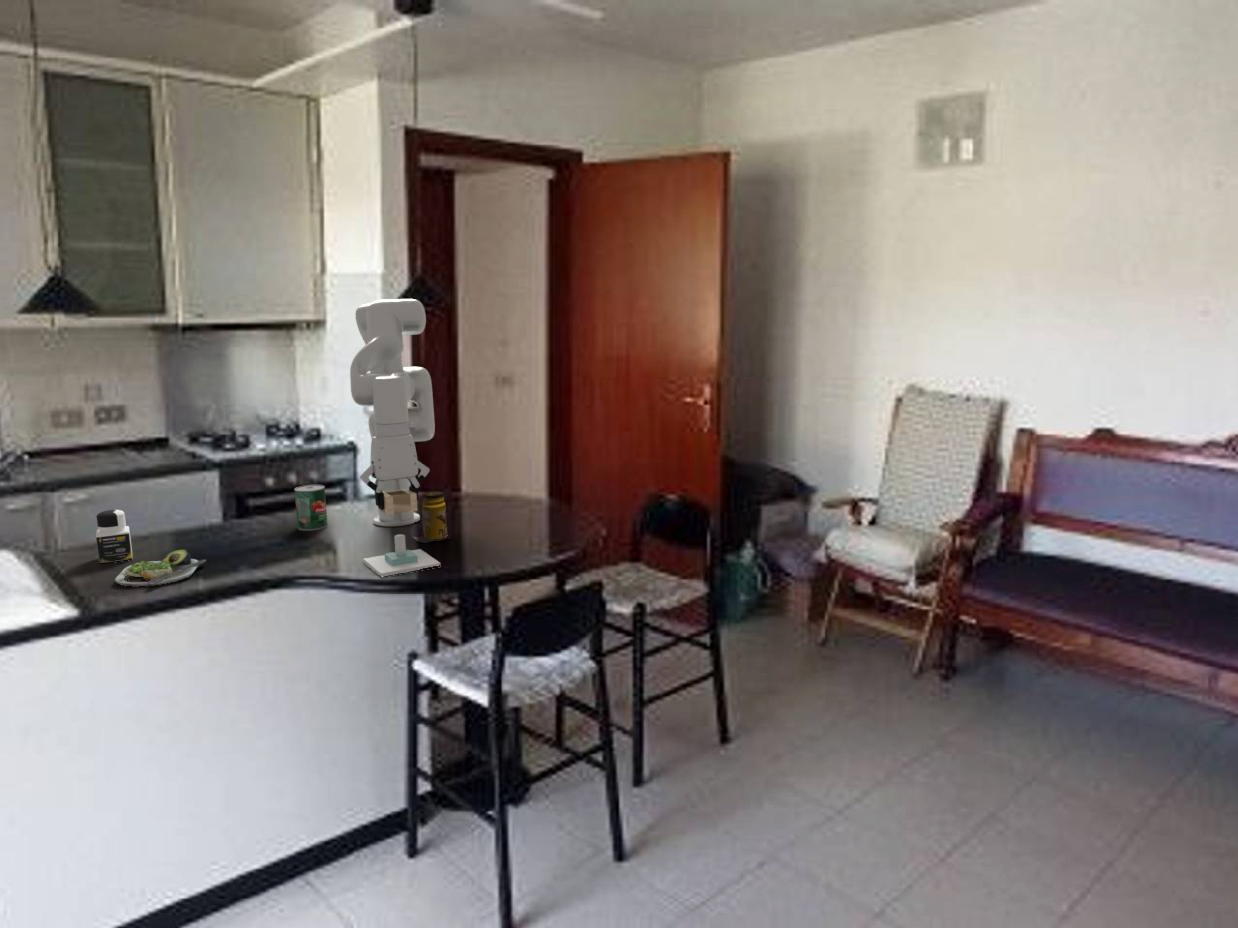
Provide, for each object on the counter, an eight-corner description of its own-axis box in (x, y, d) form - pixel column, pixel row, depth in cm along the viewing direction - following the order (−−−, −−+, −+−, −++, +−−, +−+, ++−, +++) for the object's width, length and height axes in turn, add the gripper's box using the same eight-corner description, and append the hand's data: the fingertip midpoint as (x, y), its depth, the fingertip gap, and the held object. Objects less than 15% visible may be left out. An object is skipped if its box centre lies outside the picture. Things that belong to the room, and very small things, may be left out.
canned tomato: (327, 529, 254) (323, 489, 252) (296, 531, 252) (292, 491, 250) (328, 522, 262) (325, 483, 260) (299, 524, 260) (295, 485, 258)
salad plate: (190, 588, 207) (188, 568, 207) (103, 595, 204) (100, 574, 203) (210, 563, 226) (208, 545, 225) (130, 569, 223) (128, 550, 222)
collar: (378, 509, 218) (377, 492, 218) (407, 505, 222) (406, 488, 221) (387, 514, 213) (386, 497, 212) (417, 510, 216) (416, 493, 215)
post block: (363, 562, 223) (361, 534, 221) (420, 552, 230) (418, 525, 228) (381, 577, 211) (378, 547, 209) (440, 566, 218) (438, 537, 216)
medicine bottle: (99, 564, 226) (92, 516, 224) (100, 557, 232) (93, 510, 230) (132, 560, 229) (126, 512, 227) (132, 553, 235) (126, 506, 233)
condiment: (453, 539, 242) (450, 493, 239) (422, 544, 237) (419, 498, 235) (442, 533, 248) (439, 488, 245) (411, 538, 243) (408, 493, 241)
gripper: (423, 424, 222) (428, 498, 225) (349, 432, 213) (355, 508, 216) (434, 428, 215) (439, 504, 218) (358, 435, 206) (364, 514, 210)
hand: (397, 505), depth 217 cm, fingers closed on collar, 7 cm apart
